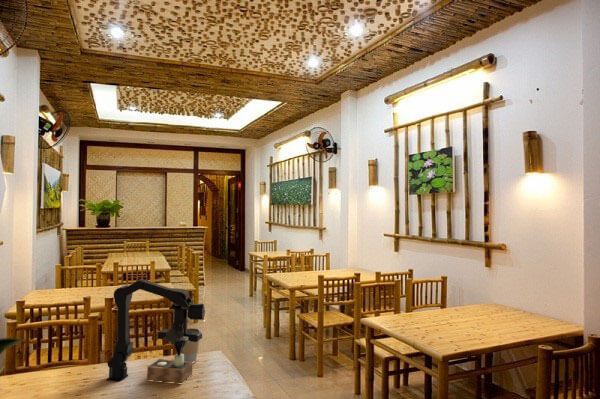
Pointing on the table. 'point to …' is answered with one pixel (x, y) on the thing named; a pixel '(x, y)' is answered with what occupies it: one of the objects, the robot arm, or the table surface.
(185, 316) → the robot arm
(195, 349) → the coffee cup
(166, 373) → the walnut block
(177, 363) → the sage peg
